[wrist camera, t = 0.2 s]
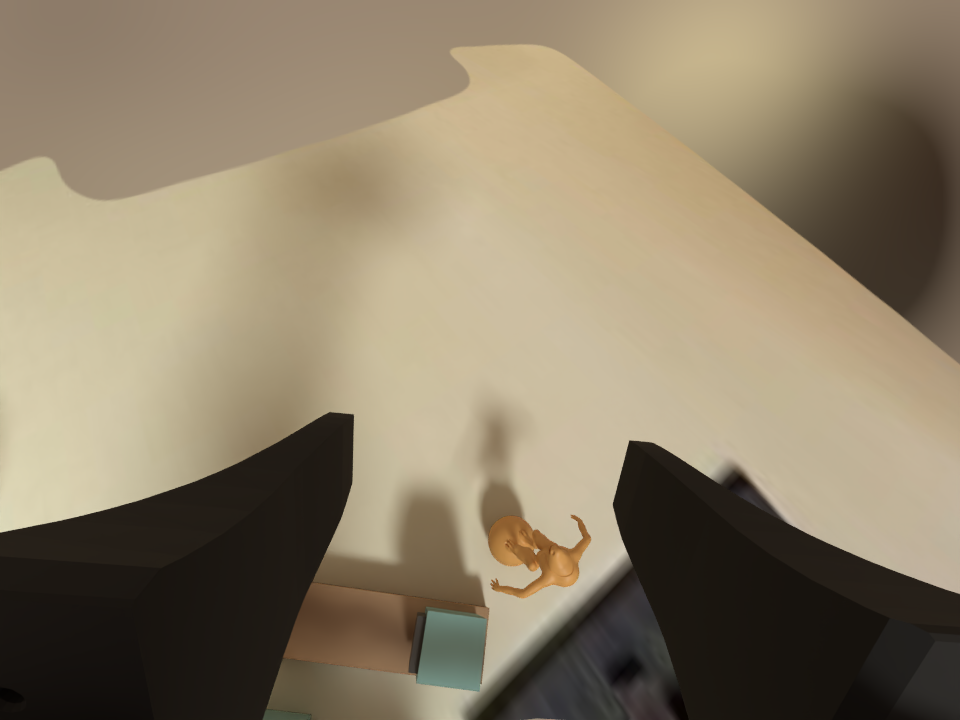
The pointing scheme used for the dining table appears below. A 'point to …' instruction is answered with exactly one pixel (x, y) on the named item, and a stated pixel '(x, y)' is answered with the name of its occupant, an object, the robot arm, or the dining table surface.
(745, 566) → the robot arm
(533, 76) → the dining table surface
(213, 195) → the dining table surface
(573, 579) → the figurine
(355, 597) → the rail
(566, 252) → the dining table surface
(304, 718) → the block
